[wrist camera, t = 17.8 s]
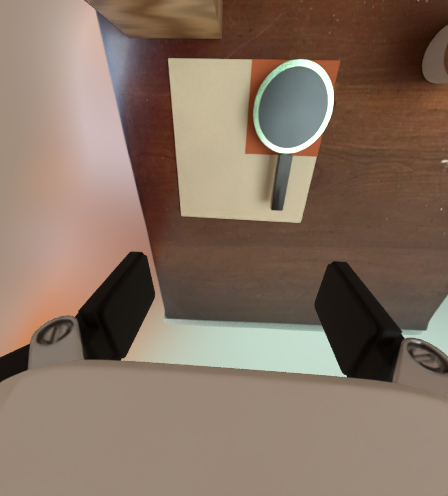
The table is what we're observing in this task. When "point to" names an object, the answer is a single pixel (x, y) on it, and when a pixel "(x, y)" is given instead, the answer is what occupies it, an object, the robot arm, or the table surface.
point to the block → (164, 17)
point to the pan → (291, 115)
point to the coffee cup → (437, 58)
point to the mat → (231, 142)
